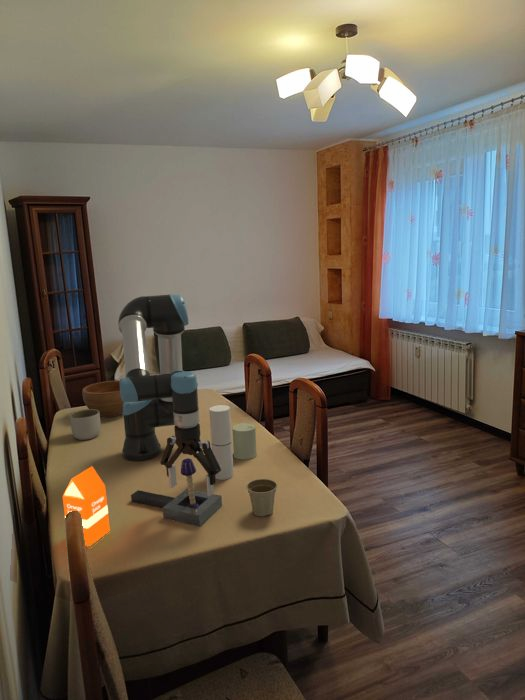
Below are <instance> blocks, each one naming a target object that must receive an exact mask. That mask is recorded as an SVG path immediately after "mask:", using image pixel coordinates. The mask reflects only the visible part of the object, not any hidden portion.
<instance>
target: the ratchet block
mask: <svg viewBox="0 0 525 700" xmlns="http://www.w3.org/2000/svg"><path fill="white" fill-rule="evenodd" d="M194 496H195V501H196V503H197V504H198V505H199V507H198V508H197V509H194V508H189V507H188V505H190V499H189V491H188V488H186V489H184V490H183V491H182V492H181V493H179V494H178V495H176V496H175V497H173V496H167V495H164V494H158V493H155V492H154V493H153V492H149V491H145V490H139V489H137V490H136V491H135V492H133V493H131V495H130V499H131V503H135V504H139V505H144V506H149V507H153V508H157V509H158V508H159V509H162V516H163V517H162V519H164V518H165V520H170V521H173V520H174V522H176V523H177V522H178V523H182V524H186V525H187V524H188V525H191V526H194V527H201V526H203V524H205V522H207V521H208V520H209V519H210V518H211V517H212V516H213V515H214V514H215V513H216V512H217V511H218V510H219V509H221V507H223V501H222V500H223V499H222V495H220V494H215V493H213V494H211V495H210V496H207V492H206V491H205V492H204V491H200V490H195V489H194ZM208 518H209V519H208ZM207 519H208V520H207Z"/></svg>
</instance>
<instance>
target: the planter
mask: <svg viewBox="0 0 525 700" xmlns="http://www.w3.org/2000/svg"><path fill="white" fill-rule="evenodd" d="M69 420H70V421H69V422H70V428H71V433H72V436H73V437H74V438H75V439H77V440H80V441H85V440H86V441H87V440H92V439H94V438H96V437H97V436H99V434H100V432H101V427H102V426H101V424H102V423H101V416H100V413H99V411H98V410H95V409H89V408H87V409H81V410H76V411H74V412H72V413H70V414H69Z"/></svg>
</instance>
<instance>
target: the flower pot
mask: <svg viewBox="0 0 525 700" xmlns="http://www.w3.org/2000/svg"><path fill="white" fill-rule="evenodd" d="M245 487H246V490H247V492H248V494H249V497H250V498H249V499H250V503H251V504H250V505H251V509H252V513H253V514H254V515H255V516H258V517H266V516H270V515H272V513H273V512H274V505H275V495H276V491H277V488H278V483H277V482H276V481H275V480H273V479H269V478H258V479H257V478H256V479H253V480H251V481H249V482H247V484H246V486H245Z"/></svg>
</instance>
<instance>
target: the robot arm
mask: <svg viewBox="0 0 525 700" xmlns="http://www.w3.org/2000/svg"><path fill="white" fill-rule="evenodd" d="M185 302H186V301H185V299H184V297H183V296H182V295H180V294H171V293H170V294H161V295H147V296H144V295H143V296H142V295H141V296H139V297H136V298H133V299H131V301H129V302H127V304H126V305H125V306H124V307H123V308H122V310H121V312H120V314H119V317H118V325H117V327H118V330H119V332H120V333H121V337H122V338H121V339H122V348H123V349H122V350H123V359H124V361H123V362H124V371H125V373H124V376H125V377H122V378H120V379H119V381H120V394H121V400H122V401H123V402H124V403H123V413H122V415H123V424H124V426H123V427H124V435H125V438H124V441H123V446H122V452H121V453H122V458H123V459H125V460H127V461H133V462H137V461H139V462H141V461H146V460H150V459H153V458H155V457H158V456H159V455H160V454H161V452H162V446H161V443H160V442H159V439H158V437H157V435H156V429H155V428H160V427H161V428H163V427H168V426H173V427H174V435H171V436H169V437H168V438H167V439H166V446H165V449H164V451H163V454H162V456H161V460H160V463H159V464H160V465H161V466H164V467H165V470H166V477H168V482H169V489H174V488H175V486H177V484H178V483H177V472H176V464H175V462H176V461H177V460H178V458H179V457H180V456H181V454H183V455H189V456H193V457H194V458H195V459H197V461H198V462H199V463H200V465H201V466H202V468H203V469H204V470H205V472H206V475H205V478H206V479H205V480H206V493H207V496H210V495H211V494H215V484H216V482H217V481H216V480H217V479H216V478H215V475H216V474H217V473H219V472H220V471H221V468H220V466H219V464H218V462H217V460H216V458H215V456H214V454H213V452H212V446H211V441H210V440H206V441H201V425H200V410H199V399H198V398H199V397H198V386H199V385H198V380H197V375H196V373H195V372H192V371H185V370H183V355H182V353H183V352H182V351H183V349H182V334H183V333H184V332H185V326H188V325H189V317H188V311H187V306H186V303H185ZM147 329H152V330H153V333H154V334H155V335H157V343H158V344H157V345H158V358H159V360H158V361H159V374H151V373H150V365H149V356H148V349H147V340H146V333H145V332H146V330H147ZM175 445H176V446H177V448H176V450H175V451H174V453H173V454H172V452H173V449H174V446H175ZM197 452H198V453H197ZM171 454H172V455H171ZM170 456H171V457H170Z"/></svg>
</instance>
